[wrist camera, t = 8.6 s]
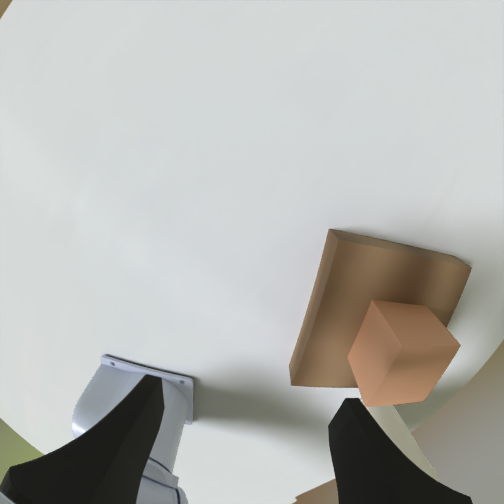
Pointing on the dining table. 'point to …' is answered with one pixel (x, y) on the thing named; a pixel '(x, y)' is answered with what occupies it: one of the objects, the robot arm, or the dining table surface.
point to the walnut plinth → (366, 299)
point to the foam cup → (401, 436)
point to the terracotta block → (400, 353)
